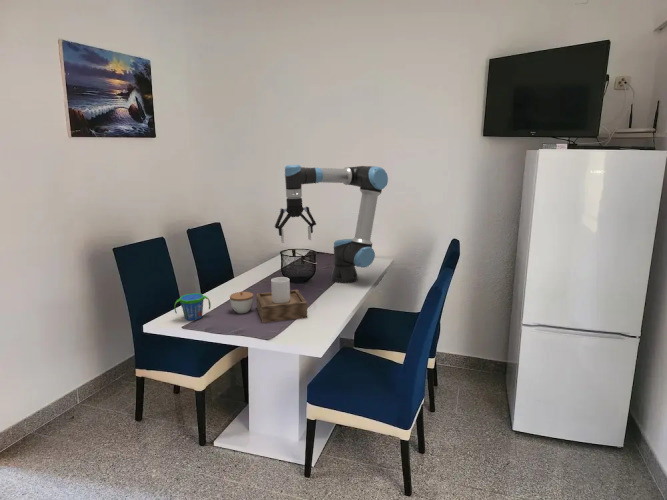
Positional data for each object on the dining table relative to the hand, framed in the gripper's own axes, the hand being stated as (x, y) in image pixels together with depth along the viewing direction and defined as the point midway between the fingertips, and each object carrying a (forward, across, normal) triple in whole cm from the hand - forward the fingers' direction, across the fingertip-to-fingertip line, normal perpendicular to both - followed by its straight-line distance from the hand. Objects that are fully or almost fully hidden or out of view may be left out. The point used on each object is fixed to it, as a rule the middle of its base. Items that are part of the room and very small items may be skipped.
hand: (296, 241), depth 236 cm
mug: (+23, -12, -18) cm, 32 cm away
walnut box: (+29, -13, -18) cm, 37 cm away
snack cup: (+28, -52, -12) cm, 60 cm away
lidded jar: (+29, -30, -10) cm, 43 cm away
